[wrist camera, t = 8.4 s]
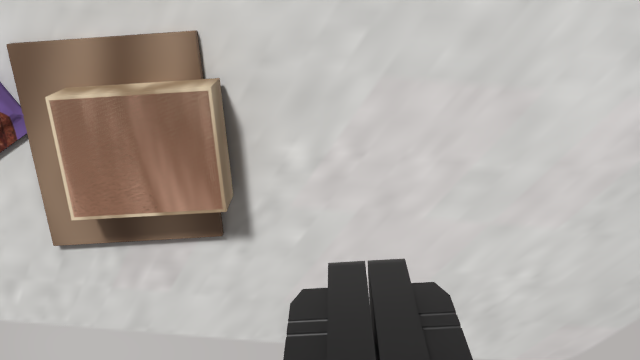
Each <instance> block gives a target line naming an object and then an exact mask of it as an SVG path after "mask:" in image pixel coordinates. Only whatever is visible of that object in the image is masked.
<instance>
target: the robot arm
mask: <svg viewBox="0 0 640 360" xmlns="http://www.w3.org/2000/svg"><path fill="white" fill-rule="evenodd" d="M368 279H369V294H368V285H367V276H366V267H365V261H356V262H338V263H328V288H316V289H303V290H302V291H301V292H300V293H299V294H298V295H297V297H296V298H295V299H294V300H293V301H292V303H291V304H290V311H289V319H288V327H287V337H286V343H285V351H284V360H473V359H472V356H471V353H470V350H469V347H468V345H467V342H466V339H465V336H464V333H463V331H462V328H461V327H460V322H459V319H458V317H457V315H456V311H455V308H454V306H453V303H452V300H451V297H450V295H449V294H448V293H446V292H445V291H444V290H443V289H442V288H440V287H439V286H438V285H437V284H436V283H434V282H426V283H411V281H410V277H409V273H408V269H407V265H406V261H405V259H390V260H372V261H368ZM369 299H370V304H369Z"/></svg>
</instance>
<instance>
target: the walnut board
mask: <svg viewBox="0 0 640 360" xmlns="http://www.w3.org/2000/svg"><path fill="white" fill-rule="evenodd" d="M6 45H7V49H8V53H9V58H10V62H11V66H12V70H13V75H14V79H15V83H16V88H17V92H18V96H19V100H20V105H21V109H22V113H23V115H24V116H23V117H24V122H25V126H26V130H27V135H28V139H29V143H30V147H31V152H32V156H33V160H34V164H35V169H36V173H37V177H38V182H39V186H40V190H41V194H42V199H43V203H44V207H45V211H46V216H47V220H48V224H49V229H50V233H51V237H52V241H53V246H59V245H77V244H94V243H111V242H129V241H146V240H164V239H181V238H199V237H216V236H222V235H223V233H224V232H223V224H222V217H221V212H214V213H196V214H178V215H160V216H142V217H124V218H106V219H88V220H71V215H70V210H69V206H68V201H67V197H66V192H65V187H64V183H63V178H62V173H61V169H60V164H59V159H58V155H57V150H56V146H55V141H54V136H53V132H52V127H51V122H50V118H49V113H48V109H47V104H46V99H45V97H47V96H49V95H51V94H53V93H55V92H58V91H60V90H62V89H64V88H71V87H87V86H103V85H119V84H135V83H151V82H167V81H183V80H199V79H203V72H202V65H201V57H200V50H199V42H198V34H197V31H183V32H168V33H154V34H139V35H125V36H110V37H96V38H82V39H67V40H53V41H38V42H24V43H11V44H6Z"/></svg>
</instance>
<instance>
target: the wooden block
mask: <svg viewBox="0 0 640 360" xmlns="http://www.w3.org/2000/svg"><path fill="white" fill-rule="evenodd" d="M45 99H46V104H47V109H48V113H49V118H50V122H51V127H52V132H53V136H54V141H55V146H56V150H57V155H58V159H59V164H60V169H61V173H62V178H63V183H64V187H65V192H66V197H67V201H68V206H69V210H70V215H71V220H88V219H106V218H124V217H142V216H160V215H178V214H196V213H214V212H227V209H228V207H229V205H230V202H231V200H232V197H233V188H232V179H231V171H230V162H229V154H228V146H227V137H226V129H225V120H224V112H223V104H222V95H221V87H220V78H215V79H199V80H183V81H167V82H151V83H135V84H119V85H103V86H87V87H71V88H64V89H62V90H60V91H58V92H55V93H53V94H51V95H49V96H47V97H45Z"/></svg>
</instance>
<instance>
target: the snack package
mask: <svg viewBox="0 0 640 360" xmlns="http://www.w3.org/2000/svg"><path fill="white" fill-rule="evenodd" d="M23 116H24V115H23V113H22V109H21V106H20V105H19V104H18V103H17V102H16V100H15V99H14V98H13V97H12V96H11V94H10V93H9V92H8V91H7V90H6V88H5V87H4V86H3V85H2V84H1V82H0V152H2V151H4V149H6V148H7V147H9V145H12V143H14V142H15V141H17V139H20V137H23V136H25V134H27V130H26V126H25V122H24V117H23Z"/></svg>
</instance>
